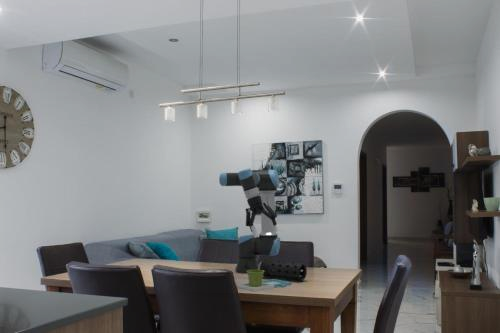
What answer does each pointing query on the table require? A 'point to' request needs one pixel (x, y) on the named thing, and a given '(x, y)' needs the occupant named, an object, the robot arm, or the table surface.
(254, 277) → the plant pot
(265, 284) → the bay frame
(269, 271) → the muzzle brake
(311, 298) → the table surface
